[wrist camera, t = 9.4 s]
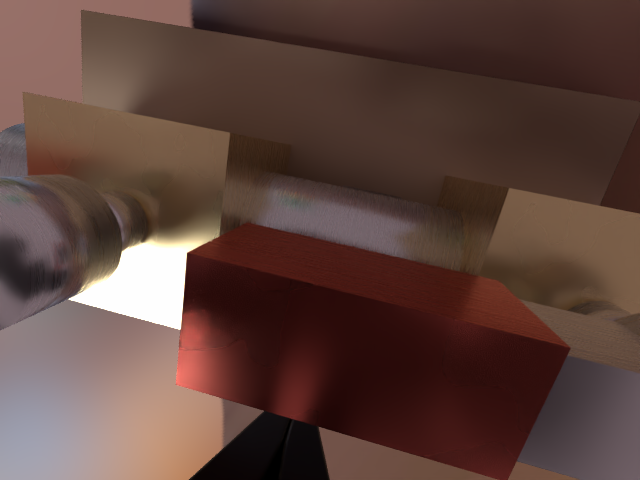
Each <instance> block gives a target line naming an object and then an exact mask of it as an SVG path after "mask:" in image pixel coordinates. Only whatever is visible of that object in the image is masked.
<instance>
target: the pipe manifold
mask: <svg viewBox="0 0 640 480" xmlns="http://www.w3.org/2000/svg"><path fill="white" fill-rule="evenodd" d="M23 105H24V121H25V123H23V124H18V125H14V126H11V127H9V128H7V129H5V130H4V131H2V132H1V133H0V330H2V329H4V328H6V327H9V326H11V325H13V324H15V323H17V322H19V321H22V320H23V319H26V318H28V317H31V316H32V315H35V314H37V313H39V312H41V311H44V310H46V309H48V308H50V307H52V306H55V305H57V304H59V303H61V302H63V301H65V300H67V299H70V300H73V301H77V302H81V303H84V304H88V305H92V306H96V307H99V308H103V309H107V310H110V311H114V312H118V313H122V314H126V315H129V316H133V317H137V318H140V319H144V320H148V321H151V322H155V323H159V324H162V325H166V326H170V327H174V328H177V329H181V317H182V304H183V292H184V280H185V268H186V256H187V252H189V251H191V250H193V249H195V248H197V247H199V246H201V245H203V244H205V243H207V242H209V241H211V240H213V239H215V238H217V237H219V236H221V235H223V234H225V233H227V232H229V231H231V230H233V229H235V228H237V227H239V226H241V225H243V224H245V223H247V222H248V223H253V224H257V225H261V226H266V227H270V228H274V229H279V230H283V231H287V232H291V233H296V234H300V235H304V236H309V237H313V238H317V239H322V240H326V241H330V242H334V243H339V244H343V245H347V246H352V247H356V248H360V249H365V250H369V251H373V252H377V253H382V254H386V255H390V256H395V257H399V258H403V259H408V260H412V261H416V262H420V263H425V264H429V265H433V266H438V267H442V268H446V269H451V270H455V271H459V272H463V273H468V274H472V275H476V276H481V277H485V278H489V279H494V280H498V281H500V282H501V283H502V284H503V285H504V286H505V287H506V288H507V289H509V290H510V291H511V292H512V293H513V294H514V295H515V296H516V297H517V298H518V299H520V300H524V301H528V302H533V303H537V304H541V305H545V306H549V307H554V308H558V309H562V310H566V311H571V312H575V313H579V314H583V315H587V316H592V317H596V318H600V319H604V320H609V321H615V320H617V319H620V318H622V317H625V316H629V315H633V314H637V313H640V214H639V213H634V212H628V211H623V210H618V209H613V208H608V207H603V206H598V205H593V204H588V203H583V202H578V201H573V200H568V199H563V198H558V197H553V196H548V195H543V194H537V193H532V192H527V191H522V190H517V189H512V188H507V187H502V186H497V185H492V184H487V183H482V182H477V181H472V180H467V179H462V178H457V177H451V176H445V179H444V182H443V186H442V189H441V192H440V196H439V199H438V203H437V206H431V205H426V204H422V203H417V202H412V201H407V200H402V198H401V197H398V196H393V195H388V194H383V193H378V192H374V191H369V190H364V189H359V188H354V187H350V186H345V185H344V186H343V187H340V186H335V185H330V184H326V183H321V182H316V181H311V180H306V179H302V178H297V177H292V176H287V170H288V164H289V157H290V151H291V145H290V144H285V143H280V142H274V141H269V140H264V139H259V138H254V137H249V136H244V135H239V134H234V133H229V132H224V131H219V130H214V129H209V128H204V127H199V126H194V125H188V124H183V123H178V122H173V121H168V120H163V119H158V118H153V117H148V116H143V115H138V114H133V113H128V112H123V111H118V110H113V109H108V108H102V107H97V106H92V105H87V104H82V103H77V102H72V101H66V100H62V99H57V98H52V97H47V96H42V95H36V94H32V93H26V92H23Z"/></svg>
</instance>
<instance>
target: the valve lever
mask: <svg viewBox="0 0 640 480" xmlns="http://www.w3.org/2000/svg"><path fill="white" fill-rule="evenodd" d="M176 385H179V386H182V387H185V388H189V389H193V390H196V391H199V392H202V393H206V394H209V395H213V396H216V397H219V398H223V399H226V400H230V401H233V402H236V403H240V404H243V405H247V406H250V407H253V408H257V409H260V410H264V411H267V412H270V413H274V414H277V415H281V416H284V417H288V418H291V419H294V420H298V421H301V422H305V423H308V424H311V425H315V426H318V427H322V428H325V429H328V430H332V431H335V432H339V433H342V434H345V435H349V436H352V437H356V438H359V439H362V440H366V441H369V442H373V443H376V444H379V445H383V446H386V447H390V448H393V449H396V450H400V451H403V452H407V453H410V454H413V455H417V456H420V457H424V458H427V459H430V460H434V461H437V462H441V463H444V464H448V465H451V466H454V467H458V468H461V469H465V470H468V471H471V472H475V473H478V474H482V475H485V476H488V477H492V478H495V479H499V480H508V478H509V476H510V474H511V472H512V470H513V468H514V465H515V463H516V461H518V462H521V463H525V464H528V465H532V466H535V467H539V468H542V469H546V470H549V471H553V472H556V473H560V474H563V475H567V476H570V477H574V478H577V479H581V480H640V313H637V314H633V315H629V316H625V317H622V318H620V319H617V320H615V321H609V320H604V319H600V318H596V317H592V316H587V315H583V314H579V313H575V312H571V311H566V310H562V309H558V308H554V307H549V306H545V305H541V304H537V303H533V302H528V301H524V300H520V299H518V298H517V297H516V296H515V295H514V294H513V293H512V292H511V291H510V290H509V289H507V288H506V287H505V286H504V285H503V284H502V283H501V282H500V281H498V280H494V279H489V278H485V277H481V276H476V275H472V274H468V273H463V272H459V271H455V270H451V269H446V268H442V267H438V266H433V265H429V264H425V263H420V262H416V261H412V260H408V259H403V258H399V257H395V256H390V255H386V254H382V253H377V252H373V251H369V250H365V249H360V248H356V247H352V246H347V245H343V244H339V243H334V242H330V241H326V240H322V239H317V238H313V237H309V236H304V235H300V234H296V233H291V232H287V231H283V230H279V229H274V228H270V227H266V226H261V225H257V224H253V223H248V222H247V223H245V224H243V225H241V226H239V227H237V228H235V229H233V230H231V231H229V232H227V233H225V234H223V235H221V236H219V237H217V238H215V239H213V240H211V241H209V242H207V243H205V244H203V245H201V246H199V247H197V248H195V249H193V250H191V251H189V252H187V256H186V268H185V280H184V292H183V304H182V317H181V329H180V341H179V353H178V367H177V377H176Z"/></svg>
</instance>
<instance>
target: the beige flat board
mask: <svg viewBox="0 0 640 480" xmlns="http://www.w3.org/2000/svg"><path fill="white" fill-rule="evenodd" d="M81 37H82V94H83V104H87V105H92V106H97V107H102V108H108V109H113V110H118V111H123V112H128V113H133V114H138V115H143V116H148V117H153V118H158V119H163V120H168V121H173V122H178V123H183V124H188V125H194V126H199V127H204V128H209V129H214V130H219V131H224V132H229V133H234V134H239V135H244V136H249V137H254V138H259V139H264V140H269V141H274V142H280V143H285V144H290V145H291V151H290V157H289V164H288V170H287V176H292V177H297V178H302V179H306V180H311V181H316V182H321V183H326V184H330V185H335V186H340V187H343V186H344V185H345V186H350V187H354V188H359V189H364V190H369V191H374V192H378V193H383V194H388V195H393V196H398V197H401V198H402V200H407V201H412V202H417V203H422V204H426V205H431V206H437V203H438V199H439V196H440V192H441V189H442V186H443V182H444V179H445V176H451V177H457V178H462V179H467V180H472V181H477V182H482V183H487V184H492V185H497V186H502V187H507V188H512V189H517V190H522V191H527V192H532V193H537V194H543V195H548V196H553V197H558V198H563V199H568V200H573V201H578V202H583V203H588V204H593V205H598V206H600V204H601V201H602V199H603V197H604V195H605V192H606V190H607V188H608V185H609V183H610V181H611V179H612V176H613V174H614V172H615V169H616V167H617V165H618V163H619V160H620V158H621V156H622V154H623V151H624V149H625V147H626V144H627V142H628V140H629V138H630V135H631V133H632V131H633V128H634V126H635V124H636V122H637V119H638V117H639V115H640V102H639V101H633V100H627V99H621V98H615V97H609V96H603V95H597V94H591V93H585V92H579V91H572V90H566V89H560V88H554V87H548V86H542V85H536V84H530V83H524V82H518V81H512V80H505V79H499V78H493V77H487V76H481V75H475V74H469V73H463V72H457V71H451V70H445V69H439V68H432V67H426V66H420V65H414V64H408V63H402V62H396V61H390V60H384V59H378V58H372V57H365V56H359V55H353V54H347V53H341V52H335V51H329V50H323V49H317V48H311V47H305V46H298V45H292V44H286V43H280V42H274V41H268V40H262V39H256V38H250V37H244V36H238V35H231V34H225V33H219V32H213V31H207V30H201V29H195V28H189V27H183V26H176V25H171V24H164V23H158V22H152V21H146V20H139V19H134V18H128V17H122V16H116V15H110V14H104V13H97V12H91V11H85V10H81Z"/></svg>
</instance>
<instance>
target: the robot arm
mask: <svg viewBox="0 0 640 480" xmlns="http://www.w3.org/2000/svg"><path fill="white" fill-rule="evenodd" d="M189 480H330V479H329V474H328V469H327V465H326V460H325V455H324V451H323V446H322V441H321V437H320V432H319V427H318V426H315V425H311V424H308V423H305V422H301V421H298V420H294V419H291V418H288V417H284V416H281V415H277V414H274V413H270V412H267V411H264V412H263V413H261V414H260V415H259V416H258V417H257V418H256V419H255V420H254V421H253V422H252V423H251V424H249V425H248V426H247V427H246V428H245V429H244V430H243V431H242V432H241V433H240V434H238V435H237V436H236V437H235V438H234V439H233V440H232V441H231V442H230V443H229V444H227V445H226V446H225V447H224V448H223V449H222V450H221V451H220V452H219V453H218V454H216V455H215V457H213V458H212V459H211V460H210V461H209V462H208V463H207V464H206V465H204V466H203V467H202V468H201V469H200V470H199V471H198V472H197V473H196V474H195V475H193V476H192V477H191V478H190V479H189Z"/></svg>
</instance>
